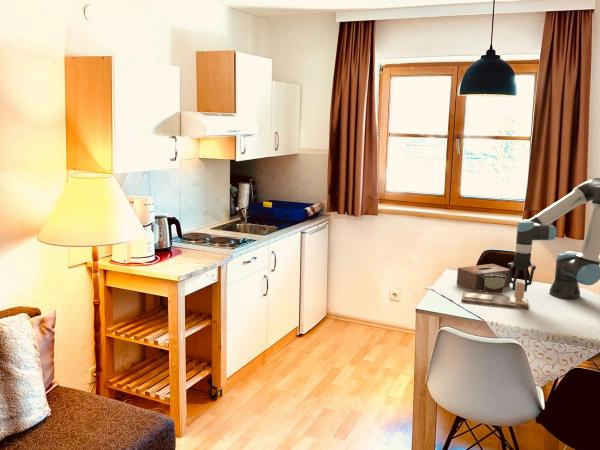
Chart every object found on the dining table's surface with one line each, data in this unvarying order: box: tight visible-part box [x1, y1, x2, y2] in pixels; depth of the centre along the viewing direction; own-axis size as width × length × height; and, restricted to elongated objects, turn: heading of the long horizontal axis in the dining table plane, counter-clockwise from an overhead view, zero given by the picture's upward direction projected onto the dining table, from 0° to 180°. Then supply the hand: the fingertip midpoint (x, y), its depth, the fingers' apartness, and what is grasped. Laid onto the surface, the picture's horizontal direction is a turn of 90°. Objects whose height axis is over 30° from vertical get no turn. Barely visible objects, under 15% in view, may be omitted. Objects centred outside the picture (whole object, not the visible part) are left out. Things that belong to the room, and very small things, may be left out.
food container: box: [483, 272, 507, 294], centre depth 326 cm, size 12×6×10 cm, turn 84°
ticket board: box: [461, 291, 530, 311], centre depth 307 cm, size 32×14×2 cm, turn 72°
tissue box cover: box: [456, 263, 511, 292], centre depth 337 cm, size 26×14×10 cm, turn 116°
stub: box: [509, 279, 528, 305], centre depth 303 cm, size 8×8×10 cm
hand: (518, 297), depth 304 cm, fingers closed on stub, 3 cm apart
